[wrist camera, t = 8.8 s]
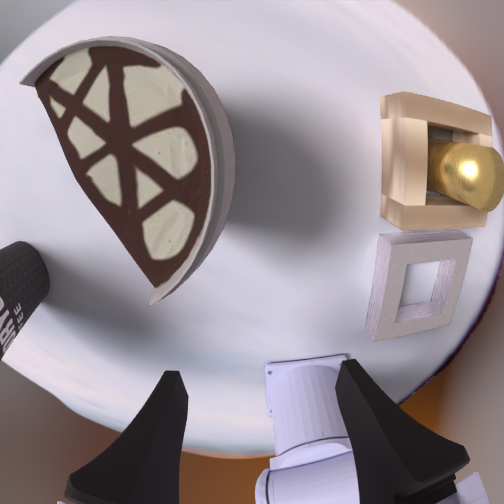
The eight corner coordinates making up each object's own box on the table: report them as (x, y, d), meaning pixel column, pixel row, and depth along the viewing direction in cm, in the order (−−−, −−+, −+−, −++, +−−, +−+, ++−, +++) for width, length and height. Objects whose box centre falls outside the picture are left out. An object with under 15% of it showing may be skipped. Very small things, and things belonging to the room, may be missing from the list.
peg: (444, 188, 18) (502, 211, 12) (408, 187, 18) (467, 212, 12) (445, 141, 17) (506, 151, 10) (408, 136, 17) (470, 142, 10)
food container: (274, 189, 18) (302, 242, 9) (197, 232, 19) (158, 316, 10) (183, 43, 14) (130, -27, 5) (111, 94, 15) (16, 75, 6)
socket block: (438, 312, 23) (449, 324, 21) (365, 326, 23) (373, 341, 21) (458, 229, 20) (472, 238, 18) (378, 234, 20) (391, 244, 18)
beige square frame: (460, 214, 19) (485, 226, 16) (380, 215, 19) (402, 231, 16) (464, 114, 15) (491, 116, 12) (379, 97, 16) (404, 91, 12)
